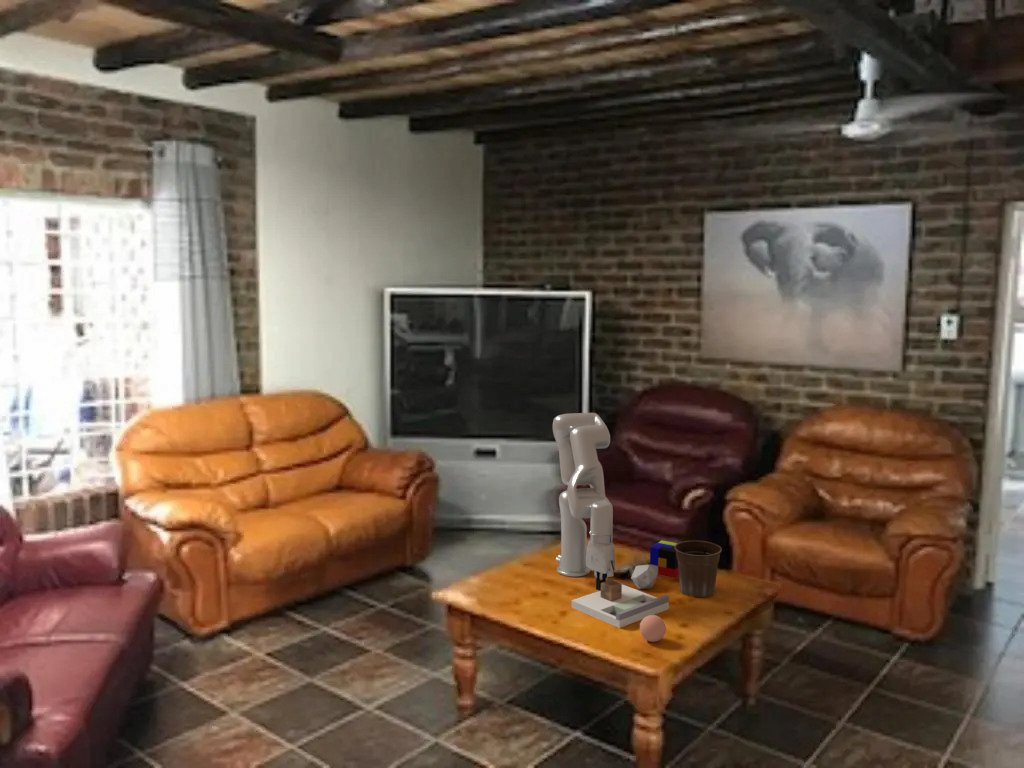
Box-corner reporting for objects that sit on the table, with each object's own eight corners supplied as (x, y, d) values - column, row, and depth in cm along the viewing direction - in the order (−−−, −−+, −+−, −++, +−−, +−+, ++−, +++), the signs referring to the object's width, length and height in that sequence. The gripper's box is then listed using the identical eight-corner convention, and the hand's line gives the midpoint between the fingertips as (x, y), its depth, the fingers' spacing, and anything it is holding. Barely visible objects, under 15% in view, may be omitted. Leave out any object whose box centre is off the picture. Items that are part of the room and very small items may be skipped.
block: (600, 597, 290) (600, 583, 289) (610, 593, 293) (611, 579, 292) (611, 601, 286) (611, 587, 285) (621, 598, 289) (621, 583, 289)
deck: (571, 607, 288) (571, 594, 287) (620, 590, 303) (620, 578, 302) (619, 628, 271) (619, 614, 270) (668, 609, 286) (668, 596, 285)
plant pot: (691, 603, 291) (692, 557, 289) (664, 587, 306) (665, 543, 304) (730, 595, 298) (731, 551, 296) (701, 580, 312) (702, 538, 310)
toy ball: (661, 634, 266) (661, 610, 265) (669, 645, 258) (669, 620, 257) (636, 636, 265) (636, 612, 264) (643, 647, 257) (644, 622, 256)
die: (626, 588, 307) (633, 573, 300) (633, 570, 313) (640, 555, 306) (647, 598, 305) (654, 583, 299) (654, 580, 311) (661, 565, 305)
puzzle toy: (649, 572, 321) (650, 547, 320) (661, 565, 329) (661, 540, 328) (674, 578, 315) (675, 552, 314) (685, 570, 323) (686, 545, 322)
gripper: (578, 534, 294) (577, 586, 296) (609, 545, 283) (608, 598, 285) (593, 530, 299) (593, 581, 301) (625, 540, 287) (624, 593, 290)
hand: (600, 589), depth 293 cm, fingers closed
